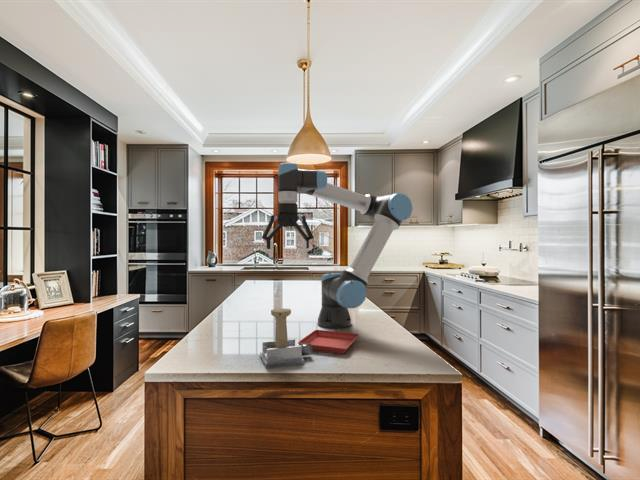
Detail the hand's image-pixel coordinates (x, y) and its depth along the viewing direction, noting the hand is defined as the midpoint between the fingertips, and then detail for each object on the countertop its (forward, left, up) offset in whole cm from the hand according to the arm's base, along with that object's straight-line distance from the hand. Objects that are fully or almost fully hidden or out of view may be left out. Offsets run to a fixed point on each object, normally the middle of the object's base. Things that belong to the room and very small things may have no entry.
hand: (288, 257), depth 145 cm
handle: (+8, +24, -31) cm, 40 cm away
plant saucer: (-12, +15, -32) cm, 38 cm away
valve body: (+6, +24, -32) cm, 40 cm away
